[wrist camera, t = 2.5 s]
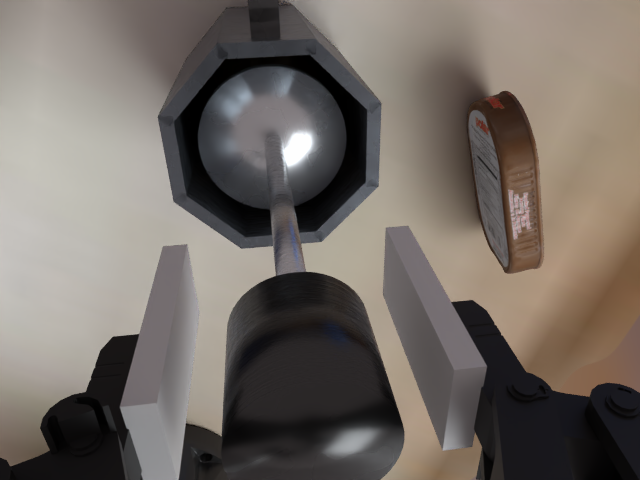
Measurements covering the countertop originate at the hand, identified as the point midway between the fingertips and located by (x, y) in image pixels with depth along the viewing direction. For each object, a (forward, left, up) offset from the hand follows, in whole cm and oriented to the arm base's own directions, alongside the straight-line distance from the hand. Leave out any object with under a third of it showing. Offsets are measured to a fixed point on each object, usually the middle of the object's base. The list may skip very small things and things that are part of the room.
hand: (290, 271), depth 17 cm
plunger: (0, 0, -13) cm, 13 cm away
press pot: (+1, 0, -25) cm, 25 cm away
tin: (-8, -18, -25) cm, 32 cm away
